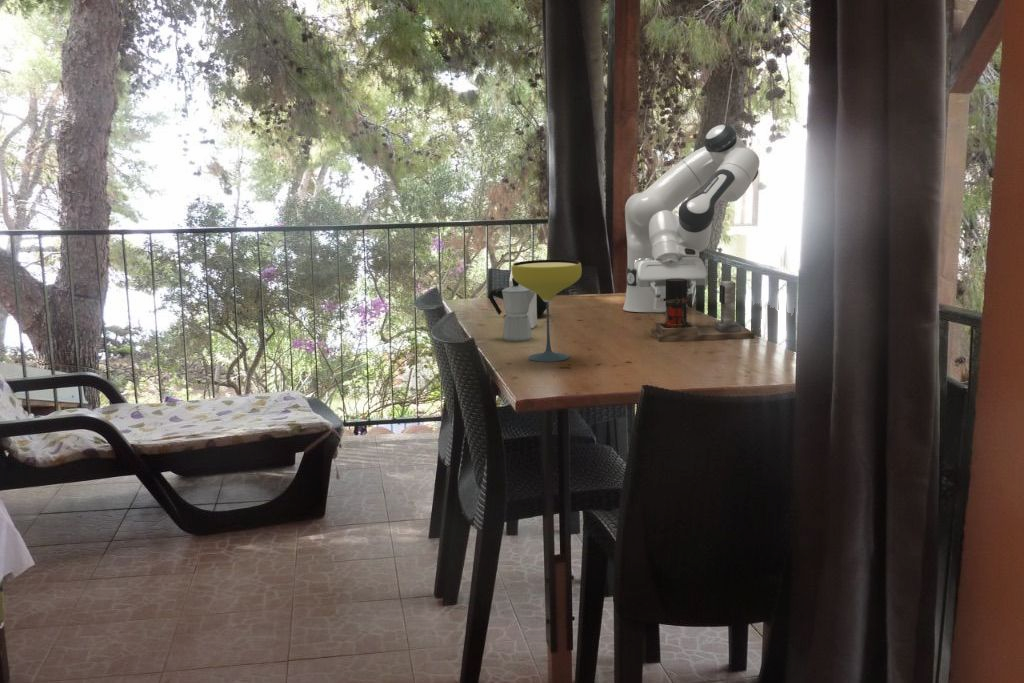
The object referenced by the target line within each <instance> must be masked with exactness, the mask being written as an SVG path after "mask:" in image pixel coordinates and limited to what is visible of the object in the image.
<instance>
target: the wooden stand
mask: <svg viewBox="0 0 1024 683" xmlns="http://www.w3.org/2000/svg"><path fill="white" fill-rule="evenodd" d="M736 283H737V282H735V281H733V280H722V281H721V284H719V286H718V287H719V288H718V289H719V292H718V296H719V299H718V300H719V301H718V302H719V303H720V321H714V327H698V326H696V325H695V324H693V323H692V322H691V321H687V328H666V322H655V326H654V328H655V329H651V336H652V337H654V338H655V340H656V341H658V342H659V343H660V342H661V343H663V342H688V341H693V342H694V341H714V340H743V339H744V340H745V339H746V340H747V339H754V338H755V333H754V331H751V329H748V328H747V327H745V326H742V324H741V323H739V322H737V321H736Z"/></svg>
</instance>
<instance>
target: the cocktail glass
mask: <svg viewBox="0 0 1024 683" xmlns="http://www.w3.org/2000/svg"><path fill="white" fill-rule="evenodd" d="M582 271H583V269H582V263H581V262H580V261H578V260H573V259H570V260H569V259H535V260H533V259H532V260H525V261H524V260H523V261H517V262H514V263H512V276H513V279H514V280H515V281H516V282H517V283H519V284H520V285H522V286H523V287H525V288H527V289H529V290H531V291H533V292H535V293H537V294H538V295H539V296H540V297H541V298H542V300H543V301H544V302H546V310H545V311H546V345H545V346H546V348H545V351H544V352H539V353H533V354H531V355H529V356H528V357H527V358H528V360H530V361H533V362H538V363H556V362H562V361H566V360H568V359H570V355H568V354H566V353H561V352H554V351H553V350H552V347H551V338H550V308H549V307H550V303H551V302H552V301H553V299H554V298H555V297H556V296H557V294H559V293H560V292H561V291H563V290H566V289H567V288H569V287H570V286H572V285H574V284H575V283H576V282H578V281H579V280H580V278H581V277H582Z"/></svg>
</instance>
